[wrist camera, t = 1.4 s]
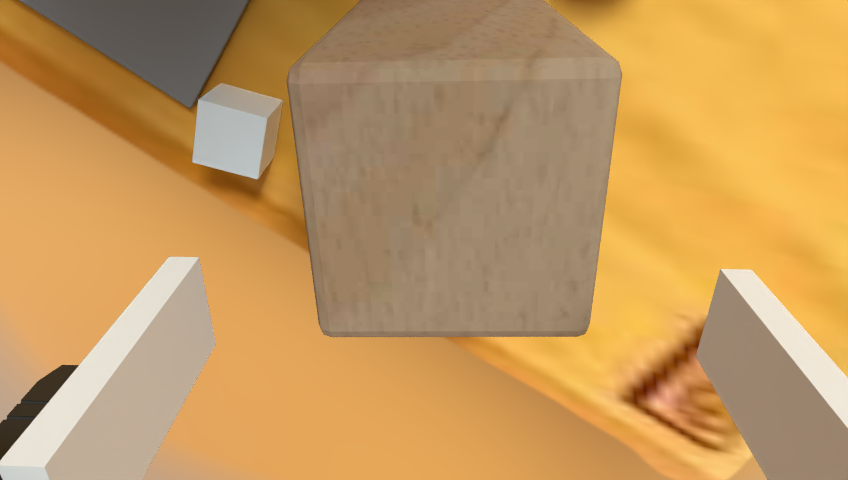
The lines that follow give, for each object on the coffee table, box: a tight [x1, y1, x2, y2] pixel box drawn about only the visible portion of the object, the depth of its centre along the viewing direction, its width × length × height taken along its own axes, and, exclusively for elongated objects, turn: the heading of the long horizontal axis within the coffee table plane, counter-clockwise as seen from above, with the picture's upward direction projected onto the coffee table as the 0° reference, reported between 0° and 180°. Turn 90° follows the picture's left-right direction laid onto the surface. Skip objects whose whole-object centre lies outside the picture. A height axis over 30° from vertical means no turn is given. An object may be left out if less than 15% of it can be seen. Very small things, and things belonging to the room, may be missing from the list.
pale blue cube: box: [192, 83, 283, 180], centre depth 37 cm, size 4×4×4 cm
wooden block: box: [287, 0, 622, 337], centre depth 28 cm, size 10×10×20 cm
